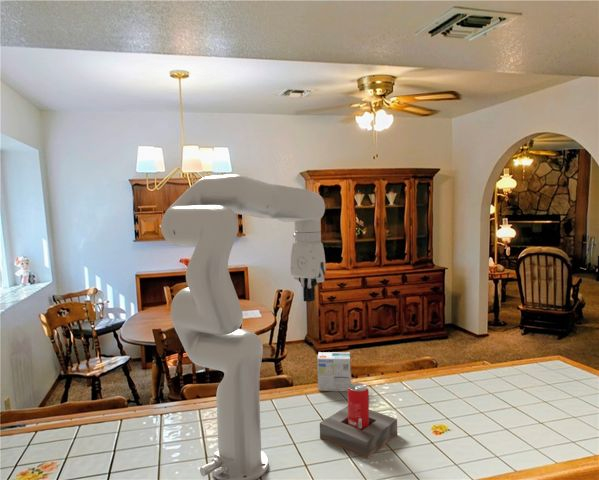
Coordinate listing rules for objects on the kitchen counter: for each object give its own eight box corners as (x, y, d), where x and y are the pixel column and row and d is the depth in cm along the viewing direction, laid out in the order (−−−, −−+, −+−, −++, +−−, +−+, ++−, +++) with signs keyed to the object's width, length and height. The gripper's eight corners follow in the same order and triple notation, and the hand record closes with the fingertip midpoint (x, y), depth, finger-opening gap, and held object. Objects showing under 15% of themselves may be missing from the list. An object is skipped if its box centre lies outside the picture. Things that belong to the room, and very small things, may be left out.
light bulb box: (350, 383, 142) (350, 351, 141) (351, 392, 135) (350, 358, 134) (318, 382, 143) (318, 351, 142) (317, 391, 136) (316, 358, 135)
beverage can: (344, 430, 110) (343, 385, 109) (361, 425, 112) (361, 381, 111) (355, 440, 105) (354, 392, 104) (373, 435, 107) (372, 388, 106)
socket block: (366, 458, 99) (366, 442, 99) (319, 438, 108) (319, 422, 108) (397, 434, 109) (397, 419, 109) (352, 417, 119) (351, 403, 118)
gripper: (280, 238, 126) (281, 299, 127) (319, 239, 116) (320, 306, 117) (297, 236, 131) (298, 295, 133) (336, 238, 121) (337, 301, 123)
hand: (309, 300), depth 125 cm, fingers closed
